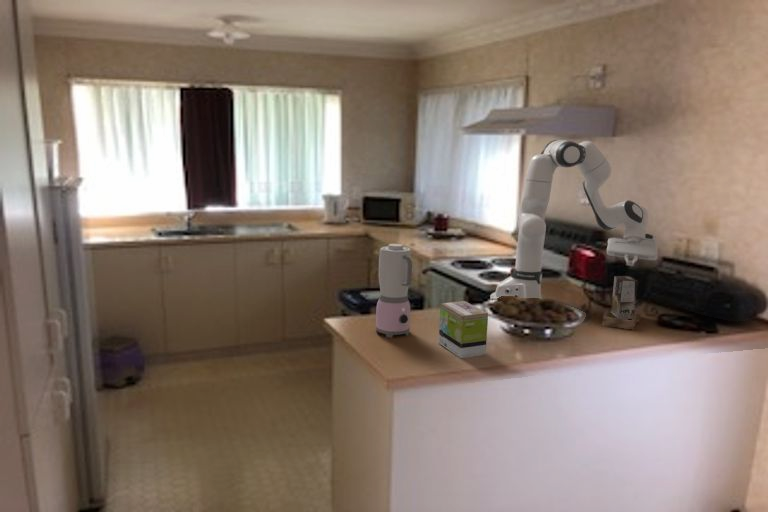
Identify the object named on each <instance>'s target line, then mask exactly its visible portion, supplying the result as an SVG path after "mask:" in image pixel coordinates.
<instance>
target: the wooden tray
mask: <svg viewBox="0 0 768 512" xmlns="http://www.w3.org/2000/svg"><path fill="white" fill-rule="evenodd" d="M609 315H610V310H609V309H608V308H603V311H602V321H601V326H602V325H604V326H603V327H607V326H611V327H610V328H614V327H618V328H617V329H620V328H625V329H624V330H626V329H632V330H631V331H633V330H634V331H635V328H634V327H636V324H637V323H636V322H639V323H640V318H641V314H640V313H634V314H633V317H632V320H628V319H619V318H617V317H611V316H609Z"/></svg>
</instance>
